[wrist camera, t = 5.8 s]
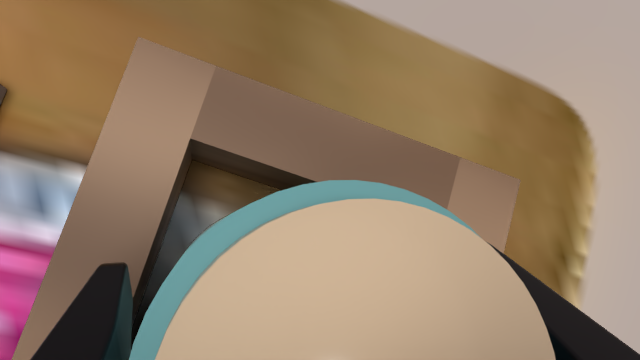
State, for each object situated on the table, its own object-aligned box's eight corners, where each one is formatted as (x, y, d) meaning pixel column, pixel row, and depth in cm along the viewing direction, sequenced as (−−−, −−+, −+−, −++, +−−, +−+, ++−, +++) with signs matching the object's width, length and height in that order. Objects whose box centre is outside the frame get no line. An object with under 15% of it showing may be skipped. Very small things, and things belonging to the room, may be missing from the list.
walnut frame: (374, 517, 16) (423, 595, 12) (14, 441, 14) (-47, 509, 10) (457, 190, 17) (520, 180, 14) (151, 80, 15) (138, 36, 12)
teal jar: (381, 332, 16) (652, 483, 7) (223, 433, 15) (269, 819, 5) (300, 177, 16) (453, 97, 6) (133, 264, 15) (4, 332, 5)
